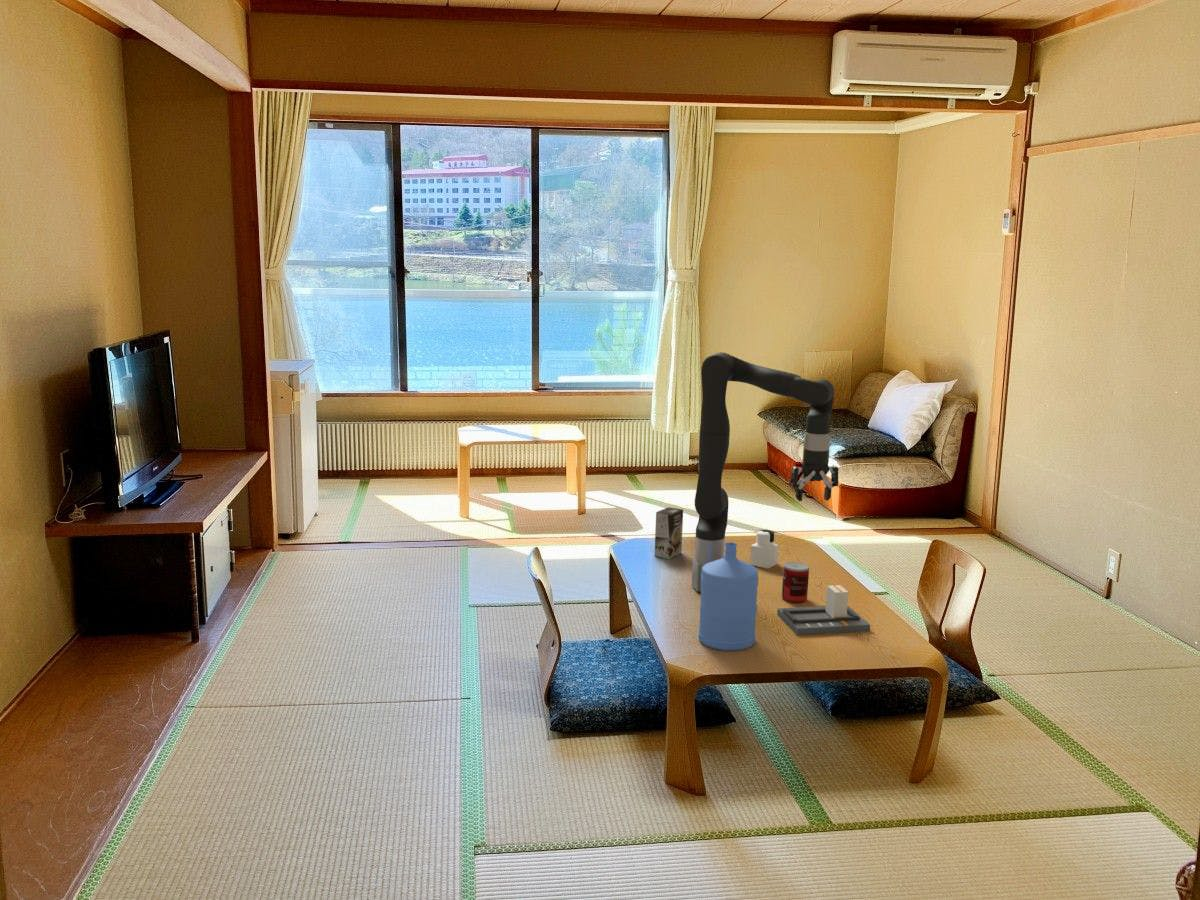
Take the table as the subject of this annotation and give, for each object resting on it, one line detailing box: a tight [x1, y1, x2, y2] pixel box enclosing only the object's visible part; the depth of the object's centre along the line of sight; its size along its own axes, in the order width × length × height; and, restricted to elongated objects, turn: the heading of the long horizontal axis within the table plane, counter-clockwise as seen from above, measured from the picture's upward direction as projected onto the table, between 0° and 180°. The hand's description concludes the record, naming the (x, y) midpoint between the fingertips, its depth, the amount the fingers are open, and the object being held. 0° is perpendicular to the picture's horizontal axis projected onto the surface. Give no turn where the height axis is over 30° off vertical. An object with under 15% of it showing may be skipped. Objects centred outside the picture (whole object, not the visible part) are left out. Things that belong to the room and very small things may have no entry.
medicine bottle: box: [749, 529, 779, 570], centre depth 345 cm, size 7×7×12 cm
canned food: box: [781, 561, 810, 604], centre depth 313 cm, size 8×8×11 cm
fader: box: [825, 584, 849, 618], centre depth 294 cm, size 4×6×8 cm, turn 10°
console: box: [776, 605, 871, 636], centre depth 294 cm, size 22×16×3 cm
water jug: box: [698, 542, 759, 652], centre depth 277 cm, size 16×16×28 cm
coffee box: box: [654, 506, 684, 560], centre depth 354 cm, size 9×6×16 cm
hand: (813, 500), depth 302 cm, fingers open, 8 cm apart
